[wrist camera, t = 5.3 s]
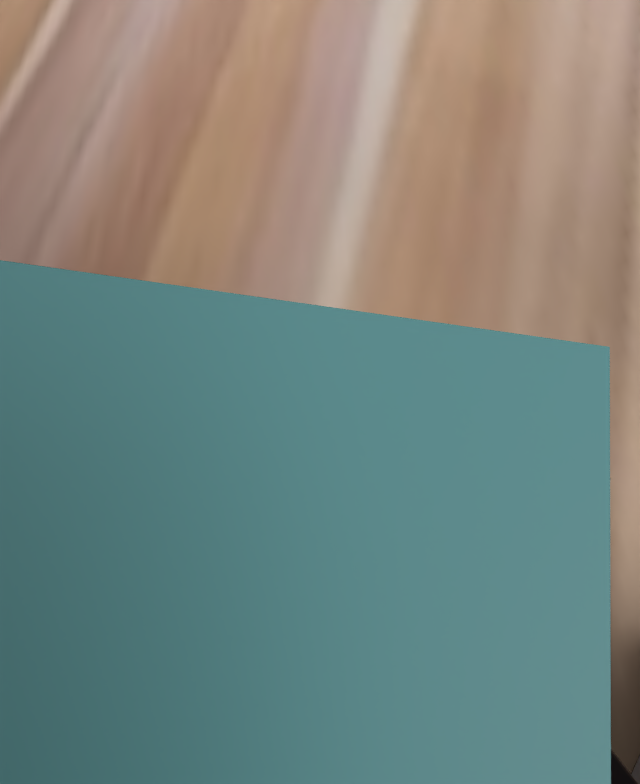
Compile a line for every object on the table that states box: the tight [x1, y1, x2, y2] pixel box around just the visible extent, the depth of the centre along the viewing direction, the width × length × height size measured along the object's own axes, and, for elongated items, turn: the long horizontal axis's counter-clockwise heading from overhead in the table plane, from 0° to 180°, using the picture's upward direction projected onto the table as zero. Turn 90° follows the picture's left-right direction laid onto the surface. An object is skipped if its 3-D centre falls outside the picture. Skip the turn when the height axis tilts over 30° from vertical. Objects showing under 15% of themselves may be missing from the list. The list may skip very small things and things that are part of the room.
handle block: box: [0, 260, 611, 784], centre depth 9 cm, size 4×4×13 cm
